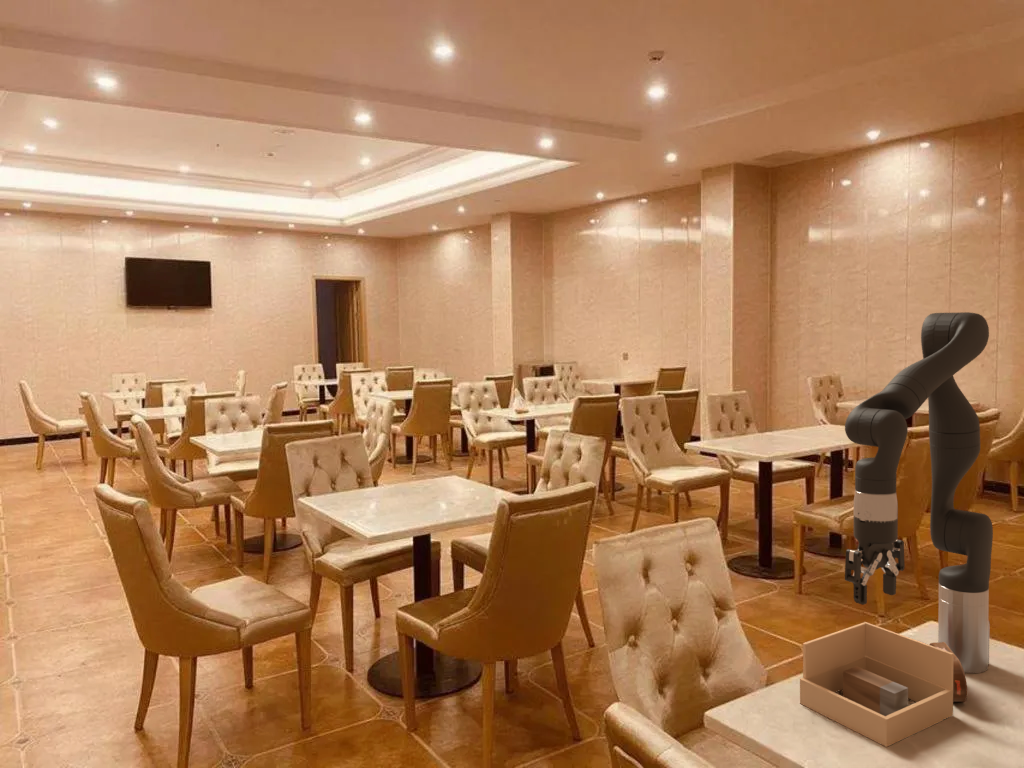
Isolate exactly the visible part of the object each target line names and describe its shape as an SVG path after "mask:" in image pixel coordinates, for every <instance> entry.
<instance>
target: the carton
mask: <svg viewBox="0 0 1024 768" xmlns="http://www.w3.org/2000/svg"><path fill="white" fill-rule="evenodd" d="M953 655H954V654H953V653H950V652H948V651H945V650H942V649H939V648H936V647H934V646H931V645H929V644H927V643H924V642H921V641H919V640H918V639H917V640H916V639H914V638H910V637H908V636H906V635H903V634H900V633H897V632H894V631H892V630H890V629H886V628H884V627H881V626H877V625H875V624H872V623H870V622H866V621H863V622H861V623H858V624H855V625H852V626H849V627H847V628H843V629H840V630H839V631H835V632H832V633H829V634H825V635H823V636H820V637H817V638H815V639H812V640H808V641H805V642H803V643H802V677H800V678H799V704H801V705H802V706H804V707H807V708H808V709H810V710H812V711H814V712H816V713H818V714H820V715H822V716H824V717H826V718H828V719H831V720H832V721H833V722H837V723H838V724H840V725H842V726H844V727H846V728H848V729H850V730H851V731H854V732H856V733H858V734H859V735H862V736H864V737H866V738H868V739H870V740H872V741H874V742H876V743H878V744H880V745H882V746H883V747H886V748H888V747H889V746H891V745H894V744H896V743H898V742H900V741H902V740H905V739H906V738H909V737H911V736H912V735H915V734H916V733H919V732H921V731H922V730H923V731H924V730H926V729H927V728H930V727H932V726H934V725H935V724H937V723H940V722H942V721H944V720H943V719H945V720H947V719H949V718H951V717H952V716H954V713H953V712H954V702H953ZM855 666H857V667H860V668H862V669H864V670H867V671H869V672H872V673H874V674H876V675H879V676H881V677H883V678H886V679H888V680H891V681H893V682H895V683H898V684H900V685H902V686H905V687H907V688H908V698H909V699H908V700H910V699H911V700H910V701H912V702H913V701H914V703H912V704H910V705H908V706H907V707H905V708H903V709H901V710H898V711H896V712H894V713H892V714H889V715H887V716H884V715H881V714H879V713H877V712H875V711H873V710H871V709H869V708H866V707H864V706H862V705H860V704H858V703H856V702H854V701H851V700H849V699H847V698H845V697H843V695H841V694H838V692H840V691H843V671H845V670H848V669H850V668H853V667H855ZM950 716H951V717H950ZM948 717H949V718H948ZM946 718H947V719H946Z"/></svg>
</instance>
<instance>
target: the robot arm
mask: <svg viewBox="0 0 1024 768" xmlns="http://www.w3.org/2000/svg"><path fill="white" fill-rule="evenodd" d="M989 337H990V328H989V324H988V321H987V320H986V318H985V317H984V316H983V315H982V314H979V313H976V312H966V311H965V312H961V311H960V312H934V313H930V314H928V315H927V316H926V317H925V318H924V320H923V323H922V326H921V334H920V343H921V344H920V345H921V351H922V359H920V360H917V361H916V362H914V363H912V364H910V365H908V366H907V367H905V368H903V369H902V370H901V371H899V372H898V373H896V375H895V376H894V377H893V378H892V379H891V380H890V381H889V382H888V384H886V386H885V387H884V388H883V389H882V390H881V391H879V392H878V393H875V394H874V395H872V396H870V397H869V398H867V399H866V400H864V401H863V402H861V403H859V404H857V405H856V406H855V407H854V408H853V409H852V410H851V411H850V412H849V414H848V416H847V417H846V420H845V424H844V431H845V435H846V437H847V438H848V440H849V441H851V442H852V443H854V444H857V445H862V446H868V447H869V446H870V447H877V452H876V454H875V455H874V457H865V458H861V459H859V460H858V461H857V462H856V463H855V468H854V474H855V475H854V497H853V537H854V539H856V540H857V542H858V545H857V549H850V548H847V549H846V550H845V563H844V564H845V565H844V581H845V582H850V583H852V584H853V600H854V602H855V603H856V604H859V605H863V606H864V605H866V604H867V603H868V585H867V583H868V580H869V579H870V577H871V576H873V575H874V573H875V571H876V570H878V569H880V568H881V570H882V571H883V575H882V591H883V594H887V595H888V596H894V595H896V593H897V576H898V575H899V572H903V571H905V544H904V540H902V539H899V537H898V532H899V531H898V530H899V527H898V526H899V525H898V523H899V522H898V521H899V520H898V519H899V517H898V516H899V515H898V514H899V513H898V512H899V507H898V497H897V471H898V468H899V467H898V466H899V463H900V460H901V456H902V451H903V449H904V446H905V443H906V440H907V437H908V431H909V430H908V423H907V421H906V420H907V419H909V418H910V417H913V416H914V414H915V413H916V412H917V411H918V410H919V409H920V408H921V407H922V405H924V403H925V402H926V401H927V402H928V404H927V406H928V436H929V437H928V438H929V453H930V464H931V467H930V469H931V499H930V501H931V502H930V519H929V520H930V521H929V522H930V523H929V525H930V526H929V527H930V529H929V531H930V532H929V533H930V540H931V542H932V545H933V546H934V548H936V549H937V550H940V551H943V552H946V553H947V552H948V553H951V554H957V555H962V556H966V557H967V558H966V562H965V563H964V564H959V565H949V566H945V567H943V568H941V569H940V570H939V572H938V626H937V627H938V628H937V629H938V630H937V631H938V633H937V634H938V635H937V636H938V637H937V643H940V642H945V643H946V644H947V646H948V647H949V648H950V649H951V651H952V652H953V653H954V654H955V656H956V657H957V658H958V659H959V661H960V663H961V665H962V667H963V670H964V673H965V674H966V673H967V674H968V673H969V674H975V673H976V674H977V673H979V674H980V673H983V672H985V671H987V670H988V665H989V663H990V630H991V629H990V626H991V624H990V620H989V609H990V608H989V605H990V604H989V602H990V601H989V600H990V599H989V598H990V597H989V595H990V594H989V593H990V591H989V589H990V578H991V568H992V567H991V564H992V550H993V539H994V527H993V523H992V519H991V518H990V517H989V516H988V515H987V514H985V513H980V512H976V511H970V510H969V511H968V510H961V509H957V508H956V509H955V507H954V500H955V499H954V498H955V493H956V489H957V488H958V486H959V484H960V482H961V481H962V480H963V478H964V477H965V476H966V474H967V473H968V472H969V470H970V469H971V468H972V467H973V465H974V463H975V462H976V460H977V459H978V457H979V454H980V452H981V426H980V420H979V419H980V418H979V416H978V414H977V412H976V410H975V409H974V407H973V406H972V404H971V402H969V400H968V398H967V397H966V395H964V393H963V392H962V391H961V389H960V387H959V386H958V384H957V382H956V380H955V377H954V375H956V374H957V373H958V372H959V371H961V370H962V369H963V368H964V367H965V366H967V365H968V364H970V363H971V362H972V361H973V360H975V359H976V358H977V357H978V356H980V355H981V354H982V352H983V351H984V350H985V348H986V347H987V344H988V342H989ZM896 559H897V560H898V561H896ZM852 571H853V573H852ZM862 574H863V575H862ZM861 575H862V576H861Z"/></svg>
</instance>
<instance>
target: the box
mask: <svg viewBox="0 0 1024 768" xmlns="http://www.w3.org/2000/svg"><path fill="white" fill-rule="evenodd" d="M842 696H843V697H845V698H847V699H849V700H851V701H854V702H856V703H858V704H860V705H862V706H864V707H866V708H869V709H871V710H873V711H875V712H877V713H879V714H881V715H884V716H887V715H889V714H892V713H894V712H896V711H898V710H901V709H903V708H905V707H907V706H909V699H908V688H907V687H905V686H902V685H900V684H898V683H895V682H893V681H891V680H888V679H886V678H883V677H881V676H879V675H876V674H874V673H872V672H869V671H867V670H864V669H862V668H860V667H857V666H855V667H853V668H850V669H848V670H845V671H843V690H842Z"/></svg>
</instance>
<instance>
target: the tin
mask: <svg viewBox="0 0 1024 768" xmlns="http://www.w3.org/2000/svg"><path fill="white" fill-rule="evenodd" d="M928 645H931V646H934V647H936V648H939V649H942V650H945V651H948V652H950V653H953V652H952V651H951V649H950V648H949V647H948V646H947V644H946V643H945V642H940V643H938V642H931V643H929V644H928ZM953 654H954V653H953ZM967 698H968V684H967V677H966V672H964V670H963V667H962V665H961V663H960V661H959V659H958V658H957V657H956V656H955V654H954V655H953V703H955V702H956V703H957V702H958V703H966V701H967Z"/></svg>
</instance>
